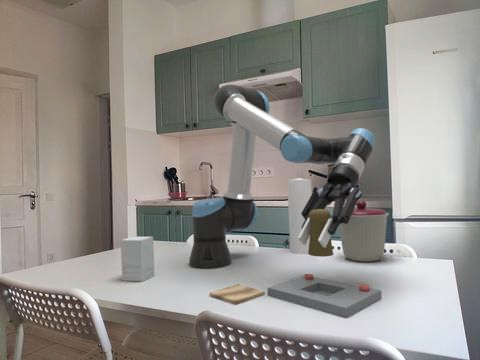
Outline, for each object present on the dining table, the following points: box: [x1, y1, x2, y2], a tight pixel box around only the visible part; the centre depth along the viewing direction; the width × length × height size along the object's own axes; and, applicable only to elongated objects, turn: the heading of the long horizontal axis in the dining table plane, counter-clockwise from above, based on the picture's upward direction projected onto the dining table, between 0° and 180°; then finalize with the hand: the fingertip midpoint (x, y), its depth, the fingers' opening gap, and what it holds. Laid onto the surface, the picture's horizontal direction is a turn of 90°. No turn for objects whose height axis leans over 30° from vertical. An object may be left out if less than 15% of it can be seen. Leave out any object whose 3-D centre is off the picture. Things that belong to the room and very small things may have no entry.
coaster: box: [209, 283, 266, 306], centre depth 89 cm, size 10×10×1 cm
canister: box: [338, 200, 390, 263], centre depth 126 cm, size 18×18×21 cm
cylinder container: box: [287, 177, 312, 255], centre depth 144 cm, size 9×9×30 cm
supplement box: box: [120, 236, 155, 282], centre depth 110 cm, size 7×7×13 cm
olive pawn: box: [307, 208, 334, 258], centre depth 86 cm, size 6×6×11 cm
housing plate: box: [266, 273, 382, 319], centre depth 86 cm, size 22×16×3 cm
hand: (311, 242), depth 84 cm, fingers closed on olive pawn, 5 cm apart
